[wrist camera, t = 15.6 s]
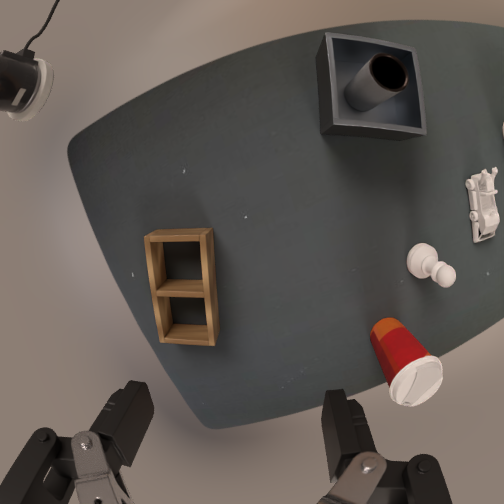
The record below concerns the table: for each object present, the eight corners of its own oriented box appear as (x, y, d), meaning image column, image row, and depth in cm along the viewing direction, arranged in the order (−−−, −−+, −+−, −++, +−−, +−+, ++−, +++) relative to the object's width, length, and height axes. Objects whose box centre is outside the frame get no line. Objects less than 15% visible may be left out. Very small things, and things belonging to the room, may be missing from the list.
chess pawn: (401, 254, 37) (431, 274, 29) (426, 236, 36) (460, 252, 28) (412, 281, 38) (441, 306, 30) (436, 263, 37) (469, 284, 29)
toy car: (470, 243, 36) (486, 250, 32) (461, 169, 33) (478, 170, 29) (493, 234, 35) (509, 240, 31) (486, 164, 32) (502, 165, 28)
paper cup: (390, 356, 42) (421, 412, 28) (354, 346, 42) (380, 406, 28) (415, 318, 40) (457, 367, 26) (379, 304, 39) (418, 356, 26)
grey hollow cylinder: (347, 76, 31) (371, 46, 21) (378, 87, 31) (411, 62, 21) (341, 105, 32) (366, 82, 22) (373, 116, 32) (407, 98, 22)
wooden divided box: (156, 229, 39) (143, 236, 34) (213, 227, 38) (205, 234, 34) (169, 327, 43) (159, 342, 38) (220, 329, 42) (214, 346, 38)
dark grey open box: (315, 56, 31) (325, 32, 24) (392, 66, 30) (415, 47, 23) (320, 134, 34) (333, 124, 26) (399, 141, 33) (427, 135, 26)
